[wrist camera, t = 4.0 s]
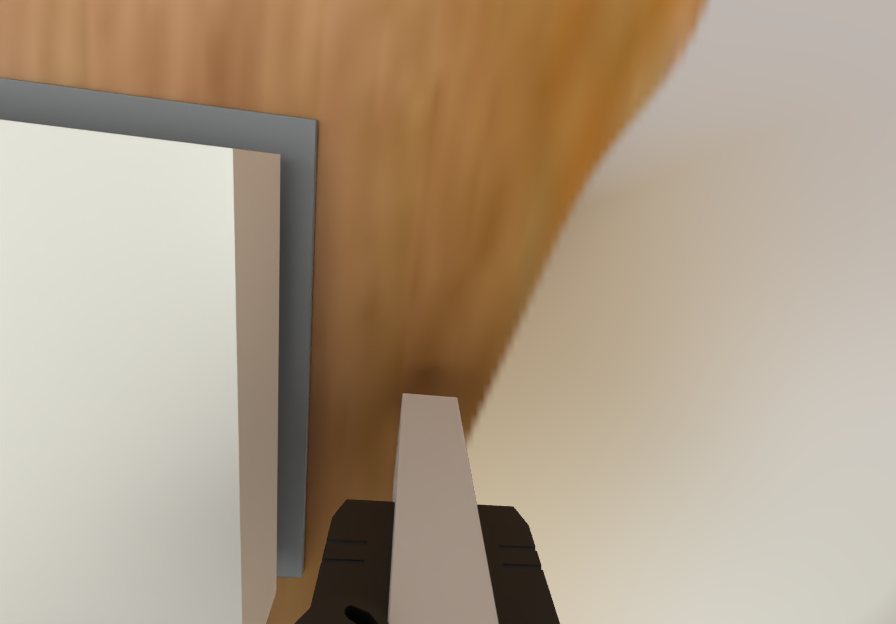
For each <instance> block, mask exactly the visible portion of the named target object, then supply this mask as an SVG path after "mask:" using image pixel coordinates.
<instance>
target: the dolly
mask: <svg viewBox="0 0 896 624" xmlns="http://www.w3.org/2000/svg"><path fill="white" fill-rule="evenodd" d="M279 251H280V154H273V153H265V152H257V151H249V150H241V149H233V148H225V147H217V146H209V145H201V144H193V143H185V142H177V141H169V140H161V139H153V138H145V137H137V136H129V135H121V134H113V133H105V132H97V131H89V130H81V129H73V128H65V127H57V126H49V125H41V124H33V123H25V122H17V121H9V120H1V119H0V624H266V622H267V619H268V616H269V613H270V610H271V607H272V604H273V601H274V598H275V595H276V572H277V465H278V358H279Z"/></svg>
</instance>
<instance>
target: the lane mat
mask: <svg viewBox="0 0 896 624" xmlns="http://www.w3.org/2000/svg"><path fill="white" fill-rule="evenodd" d="M0 119H1V120H9V121H17V122H25V123H33V124H41V125H49V126H57V127H65V128H73V129H81V130H89V131H97V132H105V133H113V134H121V135H129V136H137V137H145V138H153V139H161V140H169V141H177V142H185V143H193V144H201V145H209V146H217V147H225V148H233V149H241V150H249V151H257V152H265V153H273V154H280V251H279V358H278V465H277V572H276V577H296V578H302V575H303V571H304V542H305V511H306V479H307V448H308V416H309V385H310V353H311V322H312V291H313V259H314V228H315V196H316V165H317V134H318V121H317V120H312V119H304V118H297V117H289V116H282V115H274V114H267V113H259V112H252V111H244V110H237V109H229V108H222V107H214V106H207V105H199V104H192V103H184V102H177V101H169V100H162V99H154V98H147V97H139V96H132V95H124V94H117V93H109V92H102V91H94V90H87V89H79V88H72V87H64V86H57V85H49V84H42V83H34V82H27V81H19V80H12V79H4V78H0Z"/></svg>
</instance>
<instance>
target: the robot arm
mask: <svg viewBox="0 0 896 624" xmlns="http://www.w3.org/2000/svg"><path fill="white" fill-rule="evenodd" d="M295 624H560V623H559V619H558V616H557V613H556V610H555V607H554V604H553V601H552V598H551V594H550V591H549V588H548V585H547V582H546V579H545V576H544V572H543V570H541V563H540V560H539V557H538V553H537V551H535V544H534V541H533V538H532V535H531V532H530V528H529V525H528V524H527V523H526V522H525V520H524V519H523V518H522V517H521V515H520V514H519V513H518V512H517V511H516V509H515V508H514V507H510V506H492V505H477V503H476V498H475V492H474V487H473V482H472V476H471V470H470V465H469V459H468V454H467V449H466V443H465V438H464V432H463V427H462V421H461V416H460V410H459V405H458V399H457V397H445V396H433V395H420V394H407V393H403V395H402V404H401V414H400V424H399V433H398V443H397V453H396V462H395V472H394V484H393V498H392V502H387V501H368V500H349V499H347V500H346V501H345V502H344V503H343V505H342V506H341V507H340V508H339V510H338V511H337V512H336V513H335V515H334V516H333V517H332V520H331V524H330V529H329V533H328V537H327V543H326V545H325V549H324V553H323V558H322V563H321V566H320V570H319V574H318V578H317V583H316V587H315V591H314V595H313V599H312V603H311V607H310V609H309V610H308V611H307V612H306V613H305V614H304V615H303V616H302V617H301V618H300V619H299V620H298V621H297V622H296V623H295Z"/></svg>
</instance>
